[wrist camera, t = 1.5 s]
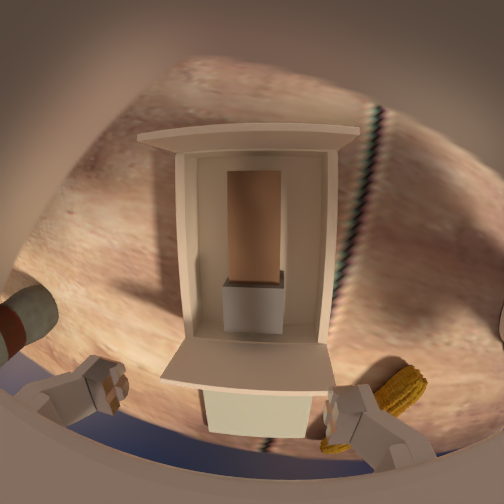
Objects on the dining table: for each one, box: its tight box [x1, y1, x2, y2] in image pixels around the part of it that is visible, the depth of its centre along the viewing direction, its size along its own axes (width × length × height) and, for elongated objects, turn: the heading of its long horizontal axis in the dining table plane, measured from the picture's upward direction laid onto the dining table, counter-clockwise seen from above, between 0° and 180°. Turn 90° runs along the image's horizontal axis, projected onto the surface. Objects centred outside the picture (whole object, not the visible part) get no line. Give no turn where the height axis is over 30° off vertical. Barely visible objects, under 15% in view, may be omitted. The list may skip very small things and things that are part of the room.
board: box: [203, 390, 313, 438], centre depth 37 cm, size 16×18×1 cm
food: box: [320, 365, 428, 454], centre depth 33 cm, size 21×6×6 cm, turn 146°
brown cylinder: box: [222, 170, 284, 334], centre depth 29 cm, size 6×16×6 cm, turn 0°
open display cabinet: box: [137, 122, 360, 396], centre depth 26 cm, size 16×22×13 cm
